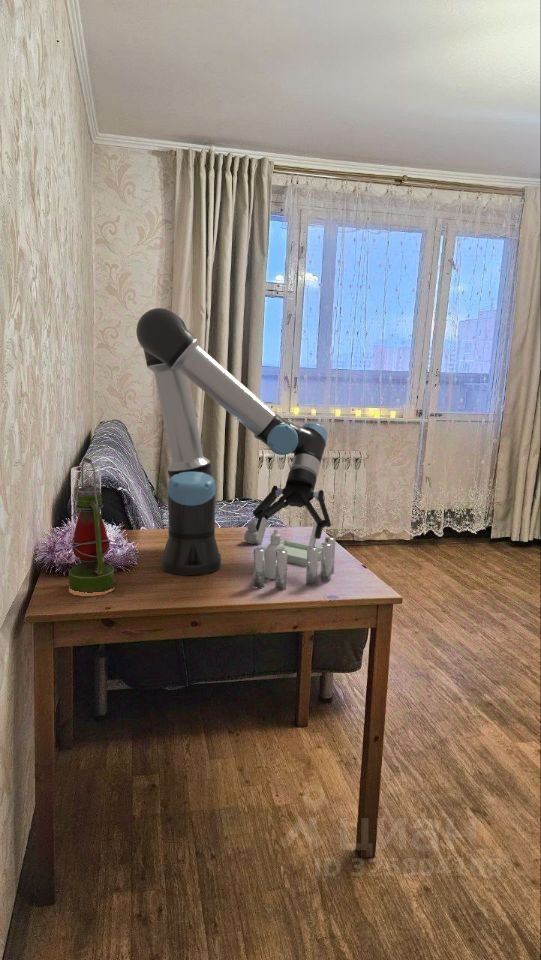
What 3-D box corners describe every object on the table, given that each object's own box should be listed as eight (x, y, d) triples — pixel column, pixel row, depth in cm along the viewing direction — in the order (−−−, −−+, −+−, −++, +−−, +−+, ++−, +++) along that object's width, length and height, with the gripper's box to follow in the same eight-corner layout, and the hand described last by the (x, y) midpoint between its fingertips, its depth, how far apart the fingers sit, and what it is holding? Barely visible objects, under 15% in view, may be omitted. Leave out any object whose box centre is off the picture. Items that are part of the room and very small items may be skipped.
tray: (262, 555, 172) (262, 548, 172) (284, 546, 181) (285, 539, 180) (306, 566, 164) (306, 559, 164) (327, 556, 173) (327, 549, 173)
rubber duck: (239, 542, 184) (240, 515, 183) (258, 539, 188) (259, 512, 186) (249, 546, 180) (250, 519, 178) (269, 543, 183) (269, 516, 182)
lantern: (125, 593, 142) (123, 461, 137) (78, 602, 136) (73, 465, 131) (104, 575, 154) (100, 453, 148) (59, 583, 148) (54, 456, 142)
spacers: (250, 585, 149) (251, 548, 148) (329, 570, 161) (331, 536, 160) (267, 595, 143) (268, 557, 141) (348, 579, 155) (349, 543, 154)
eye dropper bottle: (260, 574, 157) (261, 528, 154) (281, 572, 159) (282, 526, 157) (267, 580, 153) (268, 532, 151) (288, 578, 155) (290, 530, 153)
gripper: (351, 487, 166) (335, 558, 155) (261, 479, 174) (241, 546, 163) (347, 470, 160) (331, 544, 149) (255, 463, 168) (233, 532, 157)
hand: (284, 545), depth 156 cm, fingers open, 13 cm apart
